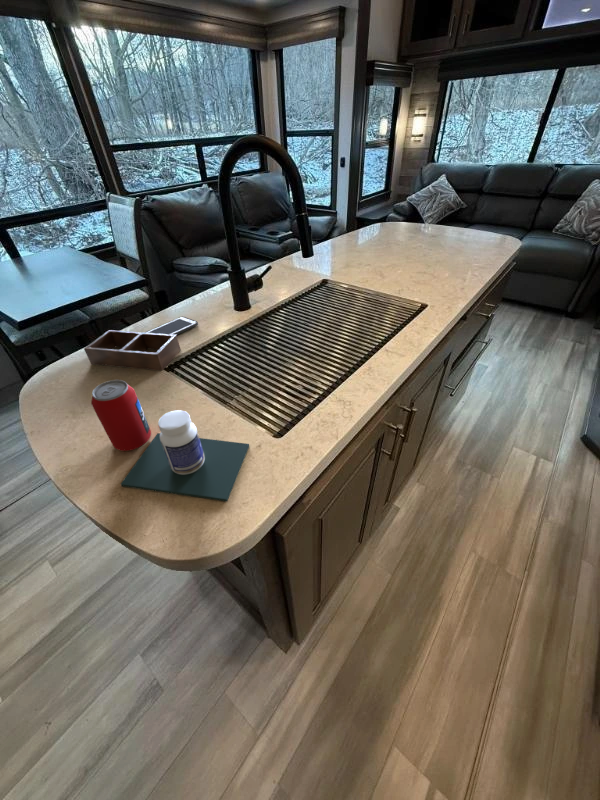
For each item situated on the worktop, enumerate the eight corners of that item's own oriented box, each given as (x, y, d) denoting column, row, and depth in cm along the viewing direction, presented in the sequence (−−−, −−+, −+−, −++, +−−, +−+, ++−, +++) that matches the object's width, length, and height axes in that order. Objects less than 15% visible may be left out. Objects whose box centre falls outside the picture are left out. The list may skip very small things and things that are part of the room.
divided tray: (91, 364, 83) (83, 348, 81) (115, 344, 91) (109, 329, 88) (162, 370, 81) (157, 354, 78) (180, 350, 88) (176, 334, 86)
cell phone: (199, 324, 100) (199, 321, 99) (158, 344, 91) (157, 341, 90) (183, 318, 103) (182, 315, 103) (141, 337, 94) (140, 333, 94)
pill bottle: (212, 458, 57) (200, 415, 51) (187, 481, 54) (171, 437, 47) (189, 445, 60) (175, 403, 54) (163, 466, 56) (145, 423, 50)
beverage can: (160, 432, 63) (140, 381, 56) (135, 457, 58) (110, 405, 51) (131, 425, 65) (109, 374, 58) (105, 448, 60) (77, 396, 53)
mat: (121, 486, 54) (120, 484, 53) (158, 435, 63) (157, 432, 63) (227, 501, 51) (226, 499, 51) (249, 446, 60) (249, 443, 60)
